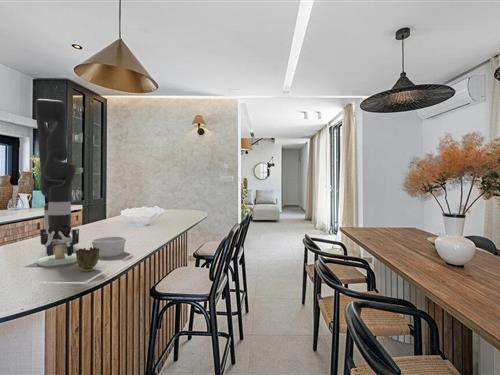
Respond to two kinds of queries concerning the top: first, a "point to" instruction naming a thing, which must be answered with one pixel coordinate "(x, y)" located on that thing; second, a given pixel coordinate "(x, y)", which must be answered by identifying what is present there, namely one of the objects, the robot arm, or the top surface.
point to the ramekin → (109, 246)
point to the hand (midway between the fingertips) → (60, 255)
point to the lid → (57, 258)
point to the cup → (87, 258)
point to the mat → (54, 266)
